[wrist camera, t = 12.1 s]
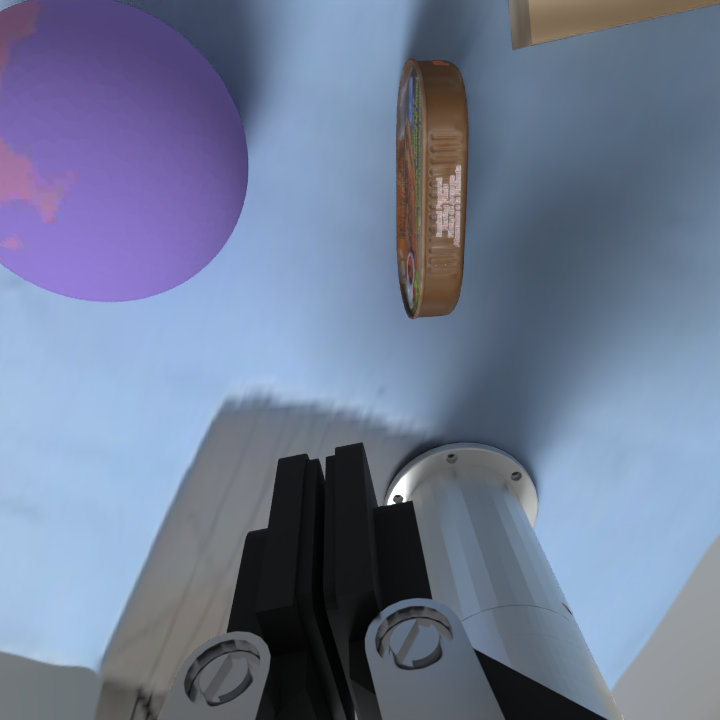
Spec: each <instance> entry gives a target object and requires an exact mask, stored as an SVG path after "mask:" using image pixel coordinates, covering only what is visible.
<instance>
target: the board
mask: <svg viewBox="0 0 720 720" xmlns="http://www.w3.org/2000/svg"><path fill="white" fill-rule="evenodd" d="M508 3H509V13H510V24H511V35H512V45H513V50H514V49H519V48H523V47H528V46H532V45H537V44H541V43H546V42H550V41H555V40H559V39H564V38H568V37H573V36H577V35H582V34H586V33H591V32H595V31H600V30H604V29H609V28H613V27H618V26H622V25H627V24H631V23H636V22H640V21H645V20H649V19H654V18H658V17H663V16H667V15H672V14H676V13H681V12H685V11H690V10H694V9H699V8H703V7H708V6H712V5H717V4H720V0H508Z"/></svg>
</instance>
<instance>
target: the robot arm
mask: <svg viewBox="0 0 720 720" xmlns="http://www.w3.org/2000/svg"><path fill="white" fill-rule="evenodd" d="M450 454H451V455H450ZM537 515H538V497H537V493H536V488H535V486H534V484H533V482H532V480H531V478H530V476H529V475H528V473H527V471H526V470H525V468H524V467H523V466H522V465H521V464H520V463H519V462H518V461H517V460H516V459H515V458H514V457H512V456H511V455H509V454H507V453H506V452H504V451H503V450H500V449H497V448H495V447H492V446H490V445H484V444H479V443H454V444H447V445H443V446H440V447H437V448H434V449H431V450H429V451H427V452H425V453H423V454H421V455H419V456H417V457H416V458H414V459H413V460H412V461H411V462H409V463H408V464H407V465H405V466H404V467H403V469H402V470H401V471H400V472H399V473H398V474H397V475H396V477H395V478H394V480H393V481H392V483H391V485H390V486H389V489H388V491H387V494H386V497H385V501H384V506H380V507H378V505H377V501H376V496H375V492H374V488H373V483H372V479H371V475H370V470H369V466H368V462H367V458H366V453H365V449H364V445H363V443H356V444H351V445H346V446H341V447H336V448H335V455H333V456H328V457H326V475H325V479H324V475H323V471H322V468H321V464H320V461H319V459H313V460H309V457H308V455H307V454H301V455H296V456H291V457H286V458H281V459H279V461H278V466H277V472H276V479H275V485H274V492H273V498H272V505H271V511H270V518H269V524H268V528H266V529H261V530H256V531H251V532H249V533H248V534H247V536H246V539H245V544H244V549H243V554H242V559H241V564H240V569H239V574H238V579H237V584H236V589H235V594H234V599H233V604H232V609H231V614H230V619H229V624H228V629H227V633H225V634H222V635H219V636H217V637H215V638H212V639H210V640H208V641H207V642H205V643H204V644H202V645H201V646H199V647H198V648H197V649H195V650H194V651H193V652H192V654H191V655H190V656H189V657H188V658H187V659H186V660H185V661H184V663H183V664H182V666H181V668H180V669H179V671H178V673H177V675H176V677H175V679H174V682H173V684H172V686H171V689H170V691H169V693H168V696H167V698H166V700H165V703H164V705H163V707H162V710H161V712H160V714H159V717H158V719H157V720H355V711H356V714H357V717H358V720H625V719H624V717H623V716H622V713H621V712H620V710H619V708H618V706H617V704H616V702H615V701H614V699H613V697H612V695H611V693H610V691H609V689H608V687H607V685H606V683H605V681H604V679H603V677H602V675H601V673H600V671H599V669H598V667H597V665H596V663H595V661H594V659H593V656H592V654H591V652H590V650H589V648H588V646H587V644H586V642H585V639H584V637H583V635H582V633H581V631H580V629H579V626H578V624H577V622H576V620H575V618H574V616H573V614H572V611H571V609H570V607H569V605H568V603H567V601H566V598H565V596H564V594H563V592H562V590H561V588H560V586H559V583H558V581H557V579H556V577H555V575H554V573H553V571H552V568H551V566H550V564H549V562H548V560H547V558H546V556H545V553H544V551H543V549H542V547H541V545H540V543H539V541H538V538H537V536H536V534H535V532H534V530H533V528H534V526H535V524H536V519H537Z"/></svg>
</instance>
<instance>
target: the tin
mask: <svg viewBox="0 0 720 720" xmlns="http://www.w3.org/2000/svg"><path fill="white" fill-rule="evenodd" d="M396 147H397V150H396V160H397V170H396V172H397V261H398V274H399V283H400V289H401V294H402V299H403V303H404V306H405V310H406V313H407V315H408V317H409V318H410V319H415V318H417V317H432V316H443V315H447V314H449V313H451V312H452V311H453V310H454V308H455V306H456V304H457V302H458V299H459V296H460V291H461V285H462V277H463V265H464V245H465V223H466V196H467V167H468V109H467V99H466V92H465V86H464V83H463V79H462V76H461V73H460V71H459V69H458V68H457V67H456V66H455V65H454V64H452V63H451V62H449V61H444V60H433V61H416V60H414V59H409V60H408V61H407V62H406V64H405V66H404V69H403V73H402V77H401V82H400V87H399V94H398V105H397V131H396Z"/></svg>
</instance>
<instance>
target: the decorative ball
mask: <svg viewBox="0 0 720 720" xmlns="http://www.w3.org/2000/svg"><path fill="white" fill-rule="evenodd" d="M247 183H248V152H247V145H246V139H245V133H244V129H243V126H242V122H241V119H240V116H239V113H238V111H237V108H236V106H235V103H234V101H233V99H232V97H231V95H230V93H229V91H228V89H227V88H226V86H225V84H224V82H223V81H222V79H221V78H220V76H219V75H218V73H217V72H216V71H215V69H214V68H213V67H212V65H211V64H210V63H209V61H208V60H207V59H206V58H205V57H204V56H203V55H202V53H201V52H200V51H199V50H198V49H197V48H196V47H194V46H193V45H192V44H191V43H190V42H189V41H188V40H187V39H186V38H185V37H184V36H182V35H181V34H180V33H178V32H177V31H176V30H175V29H173V28H172V27H170V26H169V25H167V24H166V23H164V22H162V21H161V20H159V19H158V18H156V17H154V16H152V15H150V14H148V13H146V12H144V11H142V10H140V9H138V8H135V7H133V6H130V5H127V4H124V3H121V2H118V1H114V0H28V1H25V2H22V3H19V4H16V5H13V6H11V7H9V8H7V9H4V10H3V11H1V12H0V263H1V264H2V265H3V266H4V267H6V268H7V269H9V270H10V271H12V272H13V273H15V274H16V275H18V276H20V277H21V278H23V279H24V280H26V281H28V282H31V283H33V284H35V285H37V286H39V287H41V288H44V289H46V290H49V291H51V292H54V293H57V294H60V295H64V296H67V297H71V298H76V299H81V300H89V301H98V302H122V301H131V300H137V299H142V298H147V297H150V296H154V295H157V294H160V293H162V292H165V291H168V290H170V289H172V288H174V287H176V286H178V285H180V284H182V283H183V282H185V281H187V280H188V279H190V278H191V277H193V276H194V275H196V274H197V273H198V272H200V271H201V270H202V269H203V268H204V267H205V266H207V265H208V264H209V263H210V262H211V261H212V259H213V258H214V257H215V256H216V255H217V254H218V253H219V252H220V250H221V249H222V248H223V246H224V245H225V243H226V242H227V240H228V239H229V237H230V235H231V234H232V232H233V230H234V228H235V226H236V224H237V221H238V219H239V216H240V214H241V211H242V208H243V204H244V200H245V196H246V190H247Z"/></svg>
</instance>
